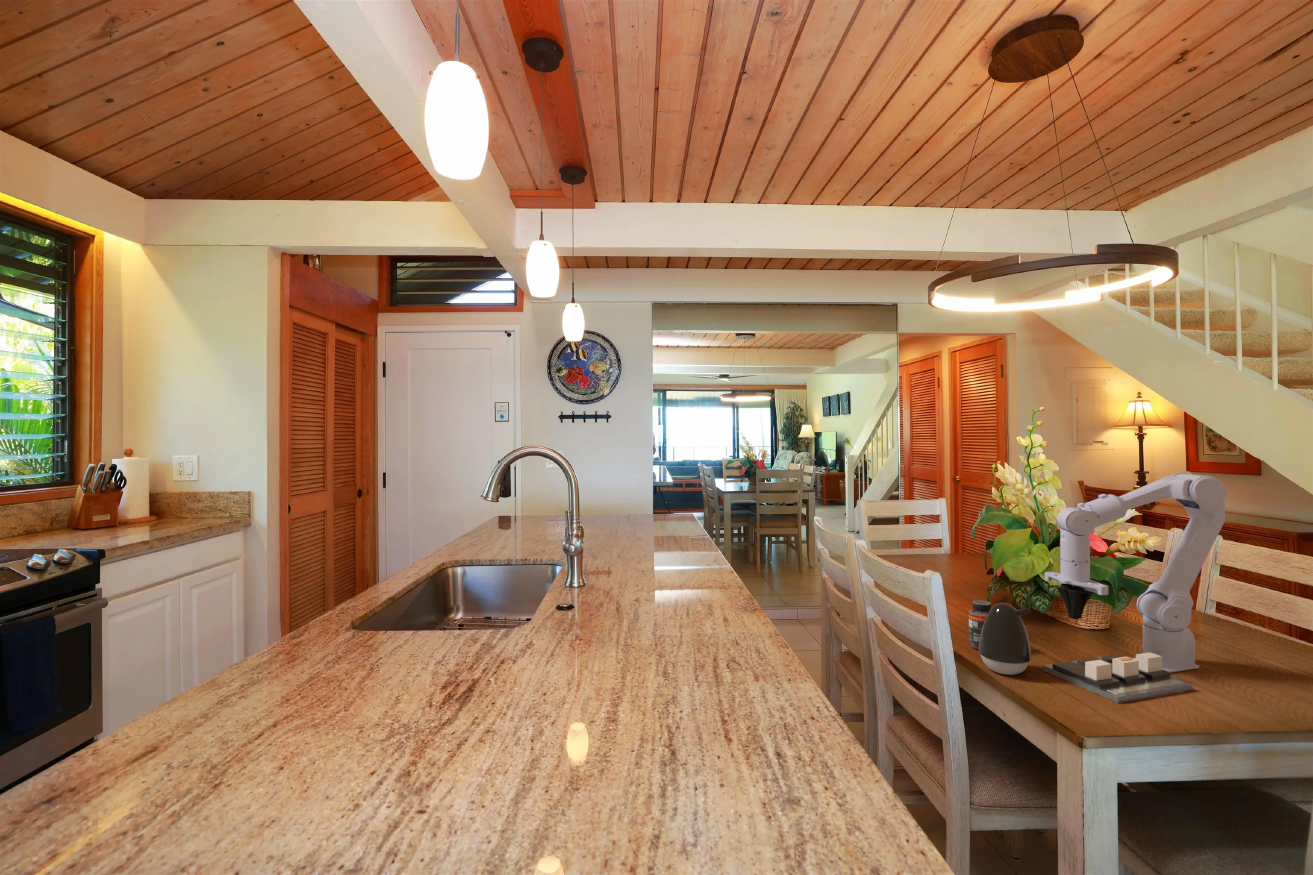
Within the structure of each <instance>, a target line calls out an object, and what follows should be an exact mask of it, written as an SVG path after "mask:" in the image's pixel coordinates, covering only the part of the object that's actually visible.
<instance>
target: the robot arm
mask: <svg viewBox="0 0 1313 875" xmlns="http://www.w3.org/2000/svg"><path fill="white" fill-rule="evenodd" d="M1228 494H1229V492H1228V491H1227V489H1226V488H1225V486H1224V484H1223V483H1222V482H1221V481H1220V479H1219V478H1217V477H1215V476H1212V475H1207V474H1206V475H1201V474H1194V473H1192V474H1191V473H1187V472H1177V473H1173V474H1172V475H1165V476H1162V477H1161V478H1159V479H1158V480H1156V481H1153V482H1150V483H1148V484H1146V485H1143V486H1141V487H1138V488H1136V489H1134V490H1132V491H1130V492H1126V493H1124V494H1122V495H1120V496H1117V495H1114V494H1112V493H1111V494H1110V493H1109V494H1105V493H1101V494H1098V496H1097V498H1096V499H1093V500H1090V501H1088V502H1087V501H1086V502H1085V503H1083V502H1079V503H1077V506H1076V507H1064V508H1063V509H1061V510H1060V512H1058V514H1057V516H1056V518H1055V519H1054V521H1055V524H1056V526H1057V528H1059V530H1060V533H1059V534H1060V536H1059V537H1060V538H1059V541H1060V542H1059V544H1060V545H1059V546H1060V548H1059V554H1060V556H1059V558H1060V560H1059V561H1060V562H1059V563H1060V564H1059V565H1060V572H1056V571H1055V572H1054V571H1045V572H1044V580H1045V581H1048V582H1049V581H1050V582H1055V583H1058V584H1061V586H1057V591H1058V593H1059V594H1060V595H1061V597H1062V600H1063V602H1064V604H1065V606H1066V611H1067V614H1068V617H1069V618H1070V619H1072V620H1081V619H1082V616H1083V613H1084V610H1085V607H1086V605H1087V602H1088V601H1089V599H1090V598H1091V597H1092V595H1093V594H1097V595H1100V596H1108V595H1109V585H1106V584H1102V583H1101V582H1097V581H1095V580H1093V579H1091V537H1090V536H1091V534H1092V533H1093V532H1094V530H1095V529H1096V528H1097V527H1100V526H1103V525H1106V524H1109V523H1112V522H1114V521H1117V520H1120V519H1123V518H1125V517H1126V515H1127V512H1128V510H1132V509H1135V508H1137V507H1142V506H1143V505H1145V506H1146V505H1148V504H1150V503H1153V502H1156V501H1157V502H1158V501H1160V500H1163V499H1172V500H1173V499H1174V500H1175V501H1176V502H1177V503H1179V505H1181V506H1182V507H1183V508H1184V510H1185V511H1186V513H1187V514H1188V516H1189V520H1188V523H1187V525H1186V526H1185V528H1184V531H1183V532H1182V535H1181V537H1180V539H1179V541H1178V542H1177V544H1176V546H1175V548H1174V550H1173V553H1172V554H1171V557H1170V558H1169V560H1168V563H1167V565H1166V567H1165V569H1164V570H1163V573H1162V575H1161V577H1160V579H1159V580H1157V581H1155V582H1153V583H1151V584H1149V586H1148V588H1147V589H1146V591H1145V592H1143V593H1142V594H1140V595H1139V596H1138V598H1137V601H1136V609H1137V611H1138V612H1139V613H1140V615H1142V653H1149V652H1151V653H1154V654H1156V655H1159V656H1162V670H1165V671H1168V672H1170V673H1175V672H1182V671H1189V670H1195V669H1199V668H1200V665H1198V664H1196V638H1195V635H1194V633H1193V632H1192V631H1191V630H1190V628H1188V626H1189V625H1190V623H1191V622H1192V609H1193V606H1194V599H1193V597H1192V595H1191V589H1192V588H1193V585H1194V584H1195V582H1196V579H1197V577H1198V576H1199V574H1200V572H1201V569H1202V567H1203V565H1205V562H1206V560H1207V558H1208V555H1209V553H1210V552H1211V549H1212V547H1213V545H1214V544H1215V541H1216V539H1217V538H1218V536H1219V534H1220V531H1221V530H1222V528H1223V525H1224V524H1225V521H1226V504H1225V500H1226V499H1227V497H1228ZM1132 659H1135V660H1136V657H1132Z"/></svg>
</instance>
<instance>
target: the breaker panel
mask: <svg viewBox="0 0 1313 875" xmlns="http://www.w3.org/2000/svg"><path fill="white" fill-rule="evenodd" d="M1120 657H1127V655H1126V656H1125V655H1122V654H1120V653H1117V654H1111V655H1104V656H1096V657H1090V658H1083V659H1076V660H1070V661H1069V660H1068V661H1063V662H1062V661H1061V662H1056V663H1048V664H1042V667H1043V668H1042V670H1043V672H1045V673H1048V674H1051V675H1053V676H1055V677H1057V678H1059V679H1061V678H1063V679H1062V680H1064V679H1065V680H1064V681H1066V682H1069V683H1071V684H1073V685H1075V686H1078V687H1080V688H1082V689H1084V690H1087V691H1089V692H1091V693H1094V694H1096V695H1098V696H1101V697H1102V698H1105V699H1107V700H1110V701H1112V702H1113V703H1116V704H1121V703H1126V702H1127V703H1128V702H1132V701H1138V700H1139V701H1140V700H1144V699H1151V698H1156V697H1163V696H1168V695H1173V694H1181V693H1186V692H1190V691H1193V690H1194V689H1193V688H1194V684H1192V683H1190V682H1187V681H1184V680H1181V679H1179V678H1175V677H1173V676H1171V673H1172V672H1171V673H1170V672H1168V671H1165V670H1162V671H1155V672H1149V673H1148V672H1145V671H1142V670H1140V669H1139V675H1135V676H1129V677H1122V676H1120V675H1117V674H1115V673H1112V659H1113V658H1120ZM1095 660H1102V661H1105V662H1107V663H1110V664H1111V679H1105V680H1098V681H1096V680H1093V679H1091V678H1089V677H1086V676H1085V662H1088V661H1095Z"/></svg>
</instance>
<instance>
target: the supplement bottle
mask: <svg viewBox="0 0 1313 875" xmlns="http://www.w3.org/2000/svg"><path fill="white" fill-rule="evenodd" d="M991 608H992V603H991V602H990V601H988V600H980V599H979V600H977V599H976V600H973V601H972V608H971V609H970V610H969V611H968V637H969V638H968V641H969V643H968V644H969V646H970V648H972V649H974V650H978V651H979V641H980V635H981V630H982V627H983V624H984V621H985V619H986V616H987V614H988V613H989V611H990V609H991Z"/></svg>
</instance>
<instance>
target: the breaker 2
mask: <svg viewBox="0 0 1313 875" xmlns="http://www.w3.org/2000/svg"><path fill="white" fill-rule="evenodd" d="M1135 658H1136V660H1138V661H1139V669H1140V670H1142V671H1145V672H1148V673H1149V672H1155V671H1162V656H1159V655H1156V654H1154V653H1151V652H1149V653H1143V652H1142V653H1137V654H1135Z"/></svg>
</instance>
